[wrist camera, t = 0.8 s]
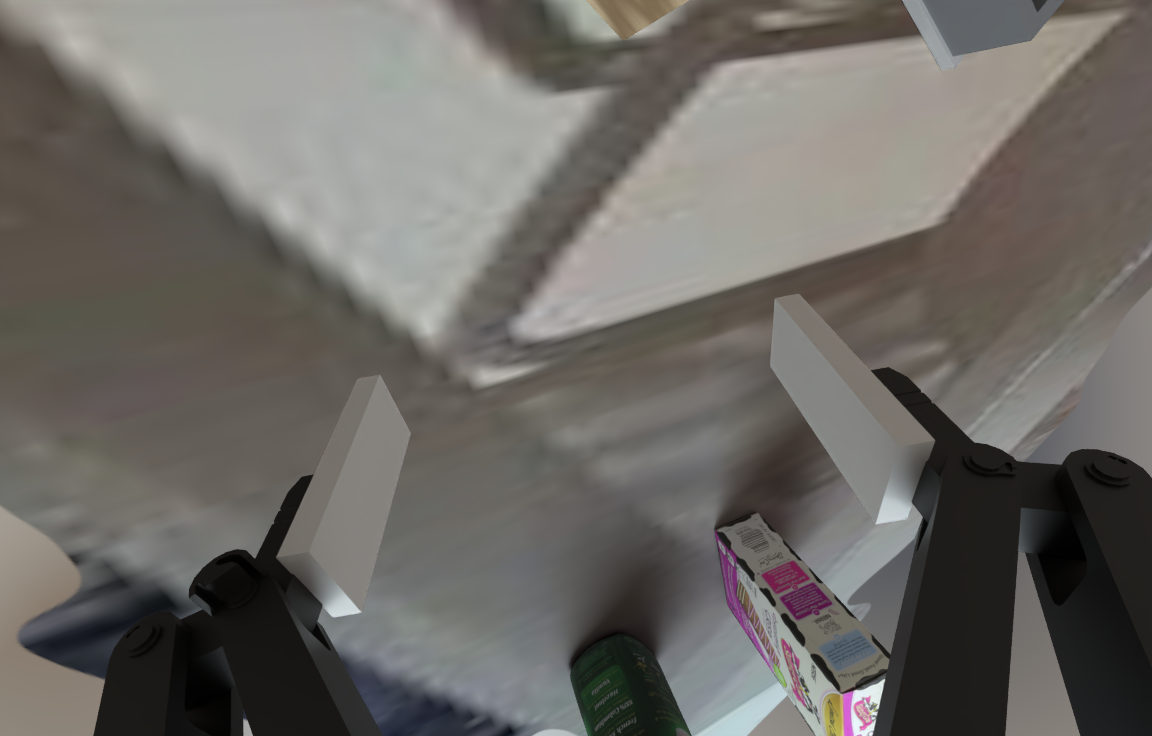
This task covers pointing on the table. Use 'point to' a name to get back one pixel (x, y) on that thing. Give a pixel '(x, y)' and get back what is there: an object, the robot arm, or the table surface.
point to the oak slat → (633, 13)
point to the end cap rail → (977, 24)
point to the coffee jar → (625, 691)
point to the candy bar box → (802, 630)
